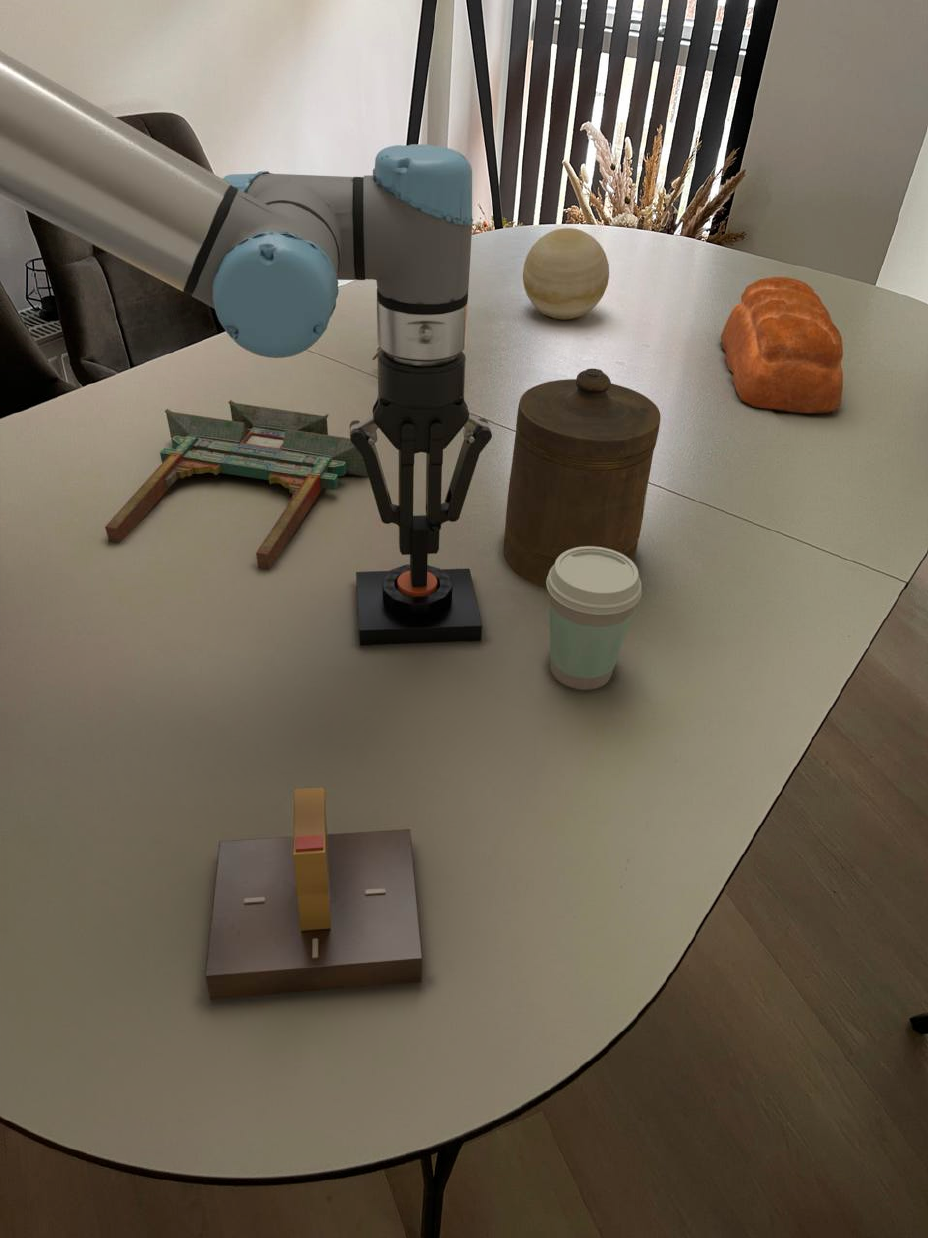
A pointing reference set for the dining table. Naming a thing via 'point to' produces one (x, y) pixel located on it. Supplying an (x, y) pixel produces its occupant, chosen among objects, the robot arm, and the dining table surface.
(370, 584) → the button block
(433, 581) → the bell button
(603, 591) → the coffee cup
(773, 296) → the bread
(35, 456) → the dining table surface
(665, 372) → the dining table surface
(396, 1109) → the dining table surface
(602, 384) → the wooden container
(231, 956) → the plate
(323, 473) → the miniature gate
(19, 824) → the dining table surface
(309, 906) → the lock knob
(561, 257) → the decorative ball
